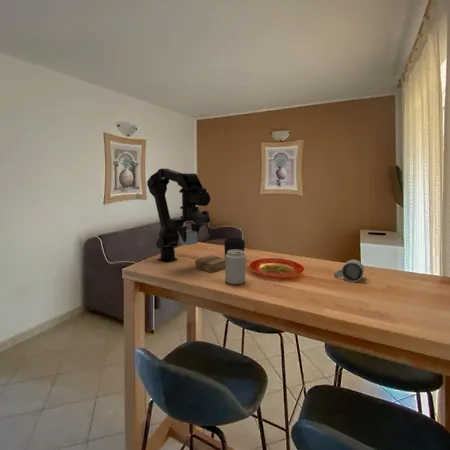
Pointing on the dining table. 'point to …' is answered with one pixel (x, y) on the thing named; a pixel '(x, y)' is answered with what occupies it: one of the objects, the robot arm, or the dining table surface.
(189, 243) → the cube
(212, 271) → the walnut block
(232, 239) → the pen holder
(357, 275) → the ceramic mug
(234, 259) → the can
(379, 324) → the dining table surface
